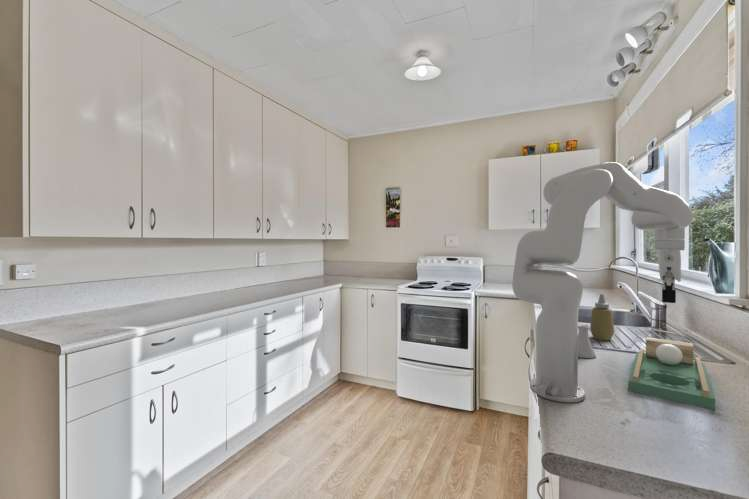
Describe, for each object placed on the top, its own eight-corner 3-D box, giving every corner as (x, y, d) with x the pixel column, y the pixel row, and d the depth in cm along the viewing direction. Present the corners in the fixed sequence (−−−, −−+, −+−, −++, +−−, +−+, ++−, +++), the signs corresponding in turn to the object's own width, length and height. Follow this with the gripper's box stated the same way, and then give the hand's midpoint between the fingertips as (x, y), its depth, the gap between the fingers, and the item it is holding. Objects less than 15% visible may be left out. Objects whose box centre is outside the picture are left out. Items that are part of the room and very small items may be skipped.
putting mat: (636, 359, 110) (636, 347, 110) (704, 371, 99) (704, 358, 99) (628, 390, 87) (628, 375, 87) (715, 409, 77) (715, 392, 77)
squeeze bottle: (591, 335, 139) (591, 292, 139) (615, 338, 134) (615, 293, 134) (588, 339, 133) (588, 294, 133) (613, 343, 128) (613, 296, 128)
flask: (600, 359, 111) (601, 329, 111) (578, 359, 111) (578, 329, 111) (587, 352, 118) (587, 323, 118) (566, 352, 118) (566, 324, 118)
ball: (682, 369, 94) (683, 348, 94) (655, 364, 98) (655, 344, 98) (682, 363, 99) (682, 343, 99) (655, 359, 103) (655, 340, 103)
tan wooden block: (646, 353, 108) (646, 337, 108) (692, 360, 101) (692, 343, 100) (645, 356, 105) (645, 339, 105) (693, 364, 98) (693, 346, 97)
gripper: (685, 246, 99) (685, 306, 99) (683, 245, 112) (683, 298, 112) (652, 246, 104) (652, 303, 104) (654, 245, 117) (654, 296, 117)
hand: (668, 300), depth 108 cm, fingers open, 6 cm apart
